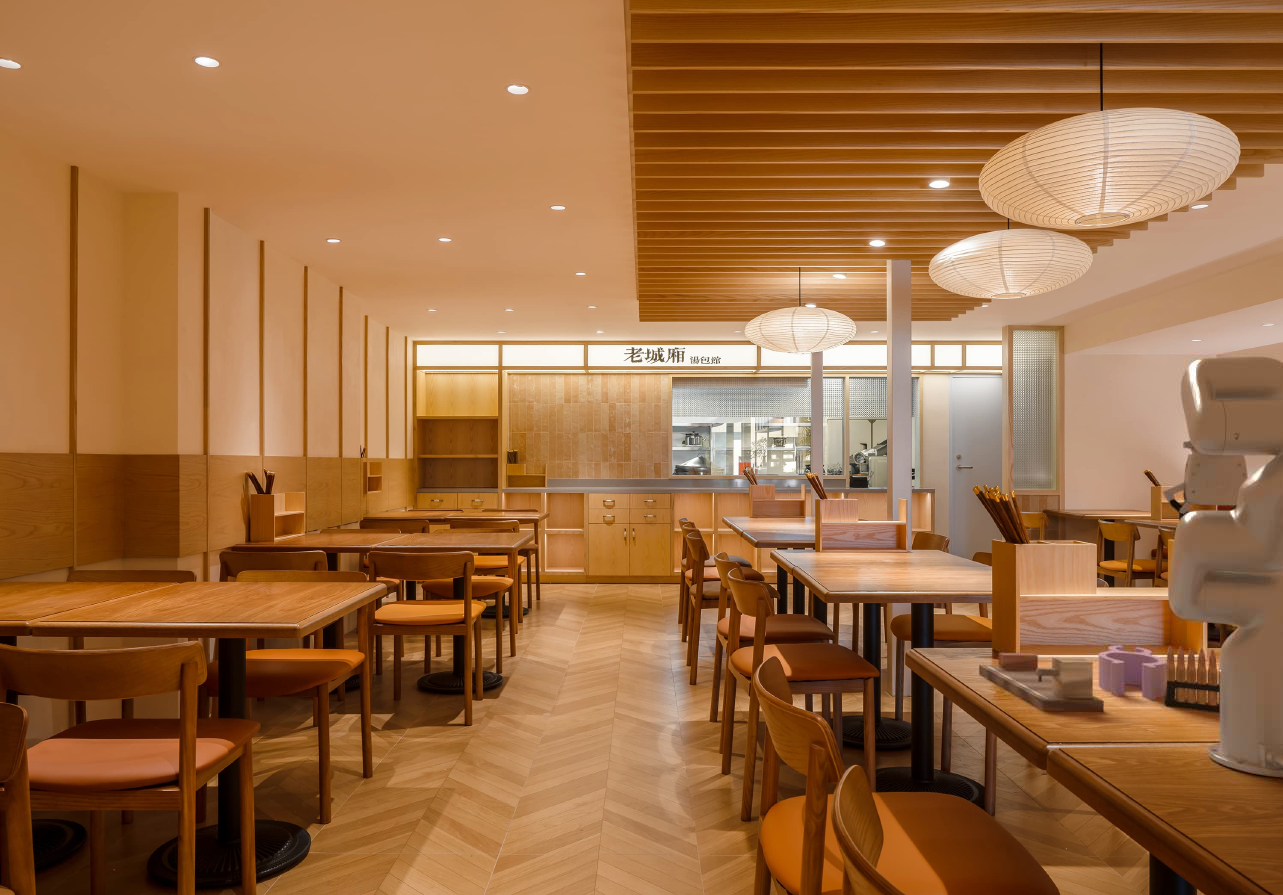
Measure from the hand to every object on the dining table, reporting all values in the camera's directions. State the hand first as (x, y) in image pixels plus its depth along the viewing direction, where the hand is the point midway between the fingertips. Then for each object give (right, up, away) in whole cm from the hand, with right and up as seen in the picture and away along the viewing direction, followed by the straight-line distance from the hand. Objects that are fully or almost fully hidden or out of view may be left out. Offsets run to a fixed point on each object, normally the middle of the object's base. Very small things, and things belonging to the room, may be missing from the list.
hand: (1214, 534), depth 161 cm
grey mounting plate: (-29, -35, +13) cm, 47 cm away
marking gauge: (-29, -32, +3) cm, 43 cm away
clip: (-6, -35, +17) cm, 40 cm away
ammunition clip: (-3, -35, +1) cm, 35 cm away
